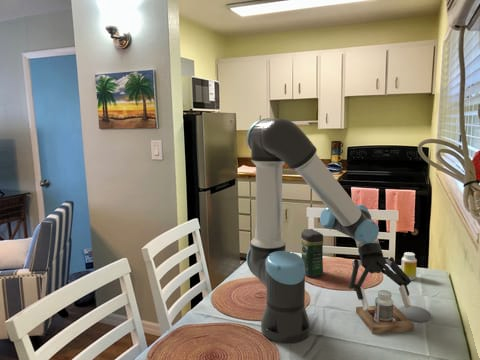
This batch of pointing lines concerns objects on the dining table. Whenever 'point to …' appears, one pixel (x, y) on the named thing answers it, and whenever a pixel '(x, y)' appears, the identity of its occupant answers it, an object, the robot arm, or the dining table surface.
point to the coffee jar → (312, 252)
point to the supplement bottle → (409, 265)
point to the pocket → (385, 327)
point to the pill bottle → (384, 307)
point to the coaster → (416, 313)
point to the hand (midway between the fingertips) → (387, 308)
